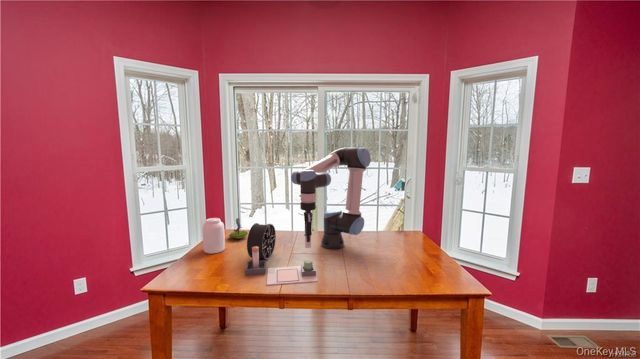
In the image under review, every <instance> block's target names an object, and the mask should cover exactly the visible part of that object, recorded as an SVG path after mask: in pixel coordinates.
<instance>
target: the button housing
mask: <svg viewBox="0 0 640 359" xmlns="http://www.w3.org/2000/svg"><path fill="white" fill-rule="evenodd" d="M300 266H301V274H302V277H305V276H316V277H317V271H316V267H315V264H313V270H310V271H304V265H300Z"/></svg>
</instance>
